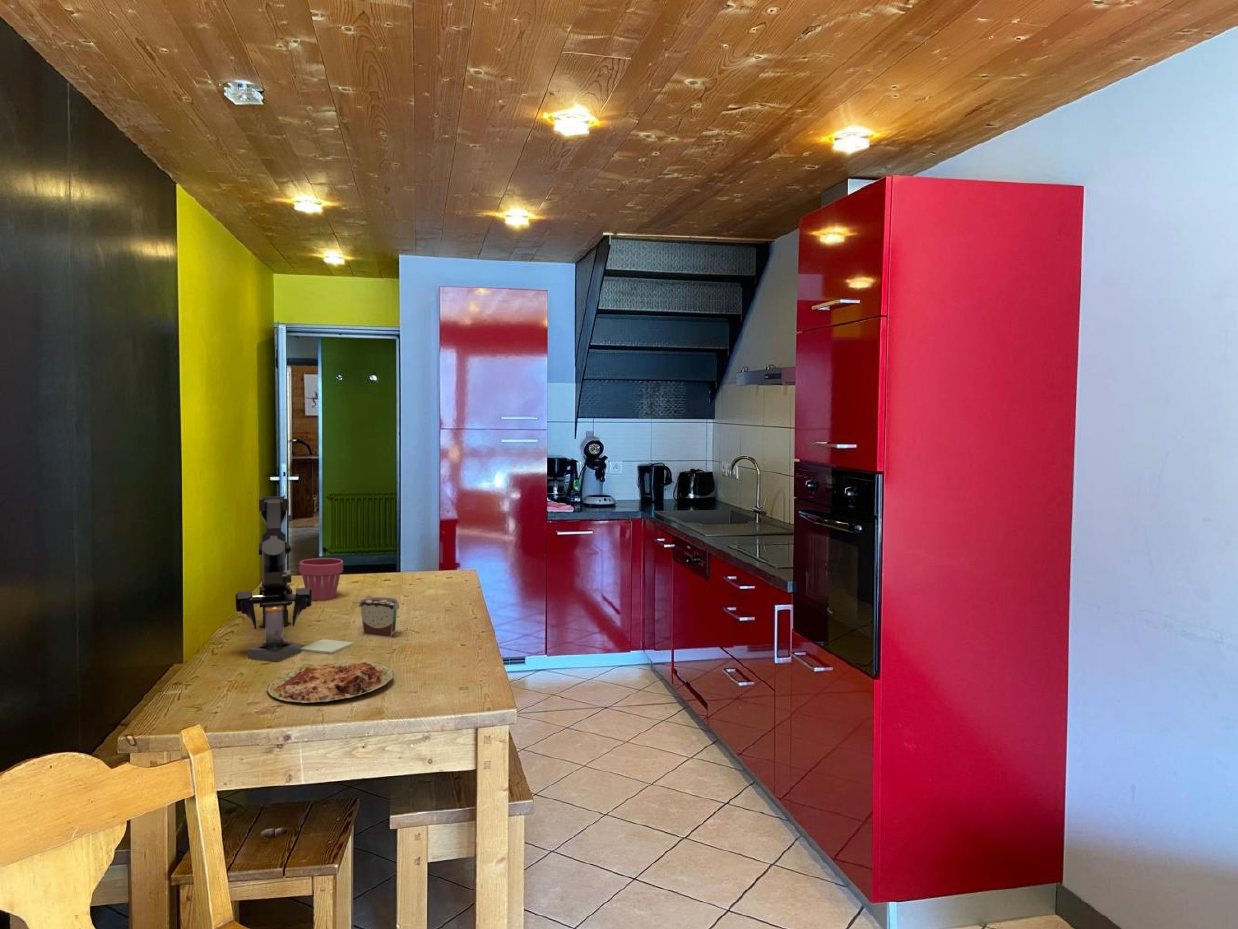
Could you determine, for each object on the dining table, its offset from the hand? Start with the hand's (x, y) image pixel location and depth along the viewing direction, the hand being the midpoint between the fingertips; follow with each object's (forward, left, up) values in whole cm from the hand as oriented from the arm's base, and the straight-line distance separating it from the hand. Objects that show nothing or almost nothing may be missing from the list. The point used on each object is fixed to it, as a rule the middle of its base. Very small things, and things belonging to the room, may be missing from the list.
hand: (274, 626), depth 222 cm
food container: (+14, +29, -8) cm, 33 cm away
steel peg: (0, 0, -8) cm, 8 cm away
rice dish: (+29, -16, -8) cm, 34 cm away
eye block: (0, 0, -8) cm, 8 cm away
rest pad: (+8, +11, -8) cm, 15 cm away
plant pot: (-32, +63, -8) cm, 71 cm away
